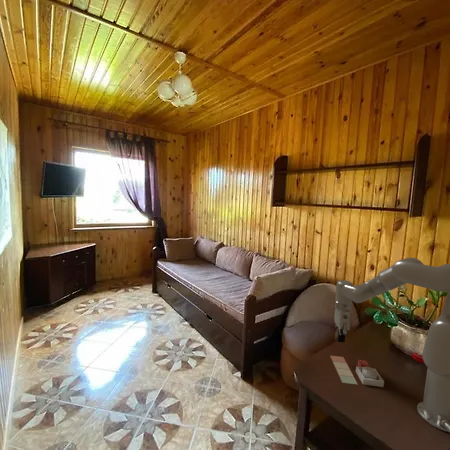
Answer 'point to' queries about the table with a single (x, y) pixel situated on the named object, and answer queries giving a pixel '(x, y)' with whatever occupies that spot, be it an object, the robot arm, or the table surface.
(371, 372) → the dome
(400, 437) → the table surface
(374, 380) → the popper base
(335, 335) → the pawn
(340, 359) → the game board
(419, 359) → the decorative ornament
